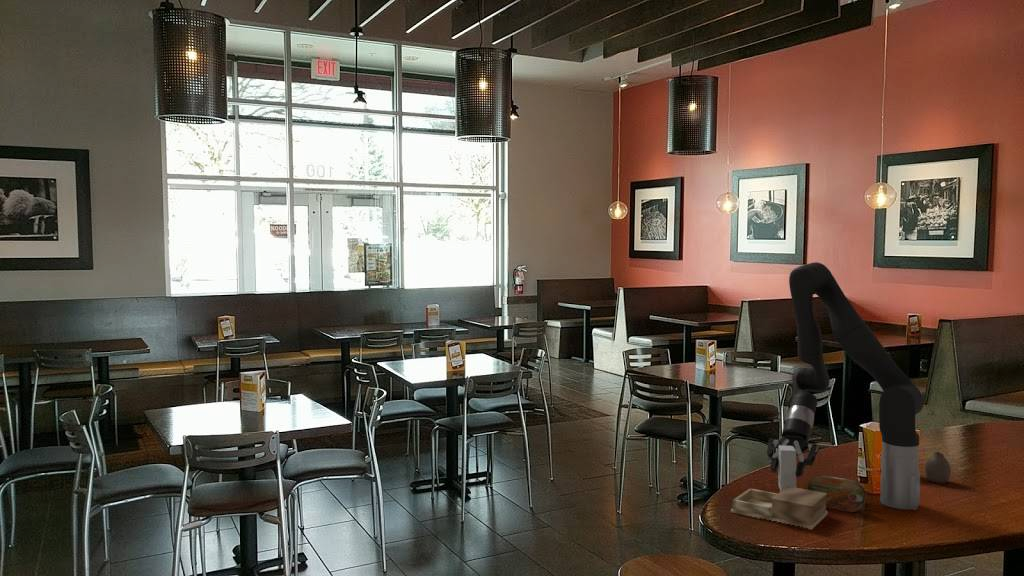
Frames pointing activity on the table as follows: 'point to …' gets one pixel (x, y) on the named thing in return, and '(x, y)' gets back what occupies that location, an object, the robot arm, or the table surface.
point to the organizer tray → (761, 507)
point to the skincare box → (786, 466)
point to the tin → (839, 492)
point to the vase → (938, 468)
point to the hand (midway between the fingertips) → (785, 473)
